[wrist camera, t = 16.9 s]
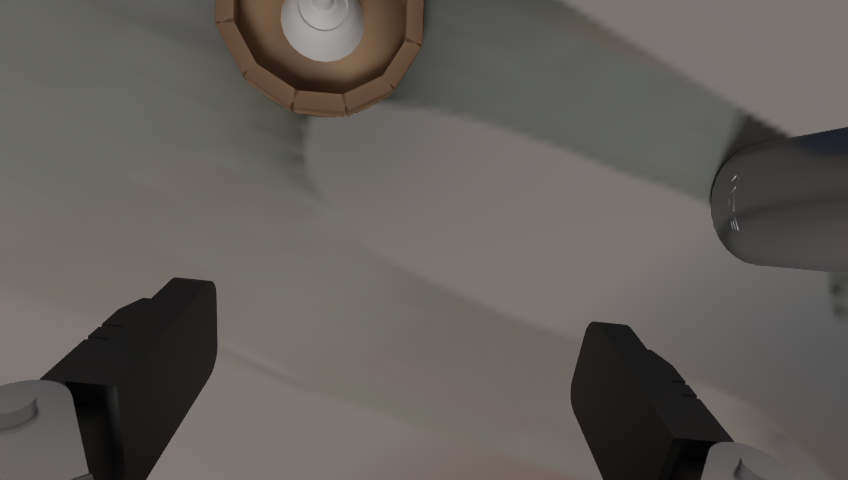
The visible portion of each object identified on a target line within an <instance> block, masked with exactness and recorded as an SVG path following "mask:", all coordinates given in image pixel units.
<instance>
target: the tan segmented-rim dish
mask: <svg viewBox="0 0 848 480" xmlns="http://www.w3.org/2000/svg"><path fill="white" fill-rule="evenodd" d="M284 1H285V0H215V23H216V27H217V28H218V30H219V32H220V34H221V36H222V38H223V40H224V41H225V43H226V45H227V47H228V49H229V51H230V52H231V54H232V56H233V58H234V60H235V62H236V64H237V65H238V67H239V69H240V71H241V73H242V75H243V77H244V78H245V80H247V82H248V83H249V84H250V85H252V86H253V87H255V88H256V89H258V90H259V91H260V92H261V93H262V94H264V95H265V96H266V97H268V98H269V99H270V100H272V101H274V102H276V103H277V104H279V105H281V106H283V107H285V108H287V109H288V110H290V111H291V112H292V111H295V113H302V114H305V115H310V116H317V117H336V116H341V117H344V116H345V115H347V116H349V115H351V114H353V113H357V112H359V111H362V110H364V109H367V108H369V107H371V106H372V105H374V104H376V103H378V102H379V101H380V100H382V99H384V98H386V97H388V96H390V94H391V93H393V91H394V90H395V88H396V87H397V85H398V84H399V82H400V80H401V79H402V78H403V76H404V74H405V73H406V71H407V70H408V68H409V66H410V65H411V63H412V62H413V60H414V59H415V57H416V55H417V54H418V52H419V50H420V48H421V45H422V32H423V6H424V0H357V1H358V3H359V4H360V6H361V8H362V12H363V16H364V33H363V36H362V38H361V40H360V43H359V45H358V46H357V47H356V48H355V49H354V50H353V51H352V52H351V54H349V55H347V56H345V57H344V58H342V59H340V60H335V61H330V62H323V61H316V60H312V59H310V58H308V57H306V56H303V55H301V54H300V53H299V52H298V51H297V50H296V49H294V48H293V47H292V46H291V45H290V43H289V41H288V40H287V38H286V36H285V35H284V32H283V28H282V24H281V9H282V5H283V3H284Z"/></svg>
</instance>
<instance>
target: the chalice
mask: <svg viewBox="0 0 848 480" xmlns="http://www.w3.org/2000/svg"><path fill="white" fill-rule="evenodd" d="M281 24H282V28H283V32H284V35H285V36H286V38H287V40H288V41H289V43H290V45H291V46H292V47H293V48H294V49H296V50H297V51H298V52H299V53H300V54H301V55H303V56H306V57H308V58H310V59H312V60H316V61H323V62H330V61H335V60H340V59H342V58H344V57H345V56H347V55H349V54H351V52H352V51H353V50H354V49H355V48H356V47H357V46H358V45H359V43H360V40H361V38H362V36H363V33H364V16H363V12H362V8H361V6H360V4H359V3H358V1H357V0H285V1H284V3H283V5H282V9H281Z"/></svg>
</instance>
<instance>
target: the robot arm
mask: <svg viewBox="0 0 848 480" xmlns="http://www.w3.org/2000/svg"><path fill="white" fill-rule="evenodd" d="M711 216H712V219H713V224H714V228H715V230H716V232H717V235H718V237H719V239H720V241H721V242H722V243H723V245H724V246H725V248H726V249H727V250H728V251H729V252H730V253H731V254H733V255H734V256H735V257H736V258H738V259H740V260H742V261H744V262H745V263H749V264H753V265H758V266H769V267H780V268H791V269H802V270H811V271H822V272H833V273H844V274H848V127H846V128H841V129H835V130H830V131H825V132H820V133H814V134H809V135H803V136H797V137H792V138H787V139H782V140H777V141H771V142H766V143H761V144H756V145H751V146H749V147H746V148H744V149H741V150H740V151H738V152H737V153H736V154H734V155H733V156H731V158H730V159H729V160H728V161H727V162H726V163H725V164H724V165H723V167H722V169H721V170H720V172H719V174H718V176H717V178H716V181H715V184H714V187H713V190H712V197H711ZM216 355H217V302H216V287H215V284H214V283H213V282H212V281H205V280H196V279H186V278H173V279H171V280H170V281H169V282H168V283H167V284H166V285H165V286H164V287H163V288H162V289H161V290H160V291H159V292H158V293H157V294H156V295H154V296H153V297H152V298H151V299H149V298H142V299H140V300H138V301H135V302H133V303H131V304H129V305H127V306H125V307H122V308H120V309H118V310H117V311H116V312H115V313H114V314H113V315H112V316H110V317H109V318H108V319H107V320H106V321H105V322H104V323H103V324H102V327H98V328H97V329H96V330H95V331H94V332H93V333H91V334H90V335H89V336H88V339H87V340H83V341H82V342H81V343H80V344H79V345H78V346H77V347H75V348H74V349H73V350H72V351H71V352H70V353H69V354H68V355H66V356H65V357H64V358H63V359H62V360H61V361H60V362H59V363H57V364H56V365H55V366H54V367H53V368H52V369H51V370H49V371H48V372H47V373H46V374H45V375H44V376H43V377H42V378H41V379H39V380H27V381H20V382H14V383H9V384H6V385H2V386H0V480H146V479H147V477H148V475H149V474H150V472H151V470H152V469H153V467H154V466H155V464H156V463H157V461H158V459H159V458H160V456H161V455H162V453H163V451H164V450H165V448H166V446H167V445H168V443H169V442H170V440H171V438H172V437H173V435H174V434H175V432H176V430H177V429H178V427H179V425H180V424H181V422H182V420H183V419H184V417H185V416H186V414H187V413H188V411H189V409H190V408H191V406H192V405H193V403H194V401H195V400H196V398H197V397H198V395H199V393H200V392H201V390H202V388H203V387H204V385H205V384H206V382H207V380H208V379H209V377H210V375H211V373H212V371H213V368H214V365H215V361H216ZM571 404H572V408H573V411H574V414H575V416H576V418H577V421H578V423H579V425H580V427H581V430H582V432H583V434H584V437H585V439H586V441H587V443H588V446H589V448H590V450H591V453H592V455H593V457H594V459H595V462H596V464H597V466H598V469H599V471H600V473H601V475H602V478H603V480H802V479H801V478H800V477H799V476H798V475H797V474H796V473H795V472H794V471H793V470H792V469H790V468H789V467H788V466H787V465H785V464H784V463H782V462H781V461H779V460H778V459H776V458H775V457H773V456H771V455H769V454H767V453H765V452H763V451H761V450H759V449H756V448H754V447H751V446H748V445H745V444H741V443H735V442H734V441H733V440H732V438H731V437H730V436H729V435H728V433H727V432H726V431H725V430H724V428H723V427H722V426H721V425H720V424H719V422H718V421H717V420H716V419H715V417H714V416H713V415H712V414H711V412H710V411H709V410H708V409H707V408H706V406H705V405H704V404H703V403H702V401H701V400H700V399H697V395H696V394H695V393H694V392H693V390H692V389H691V388H690V387H689V385H685V380H684V379H683V378H682V377H681V376H680V374H679V373H678V372H677V371H676V369H675V368H674V367H673V366H672V365H671V364H670V363H668V362H667V361H666V360H664V359H663V358H661V357H660V356H659V355H657V354H656V353H655V352H653V351H652V350H647V348H646V347H645V346H644V345H643V343H642V342H641V341H640V339H639V338H638V337H637V336H636V334H635V333H634V332H633V330H632V329H631V328H630V327H629V326H628V325H622V324H612V323H603V322H591V323H590V324H589V325H588V327H587V329H586V332H585V335H584V339H583V343H582V346H581V350H580V354H579V357H578V361H577V365H576V368H575V372H574V376H573V379H572V384H571Z"/></svg>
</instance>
